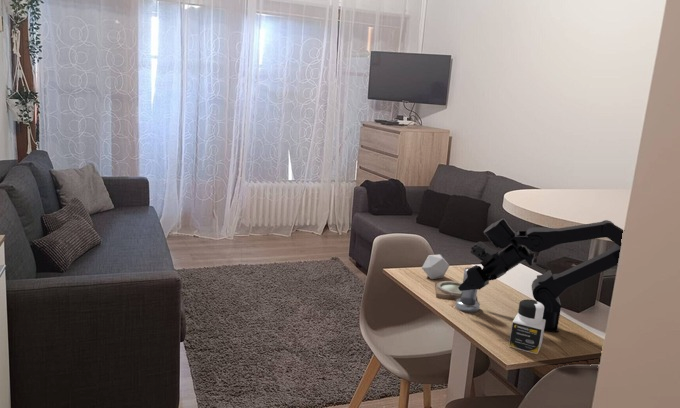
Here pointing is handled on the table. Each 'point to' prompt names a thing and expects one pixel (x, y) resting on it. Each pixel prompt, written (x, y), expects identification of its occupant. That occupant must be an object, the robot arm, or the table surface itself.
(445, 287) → the board
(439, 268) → the die
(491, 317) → the table surface
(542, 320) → the medicine bottle
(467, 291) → the silver round peg
